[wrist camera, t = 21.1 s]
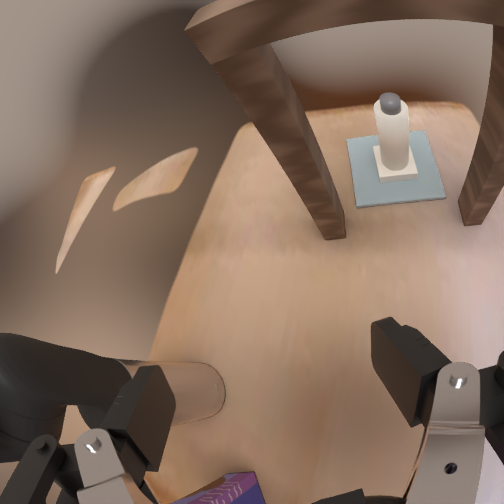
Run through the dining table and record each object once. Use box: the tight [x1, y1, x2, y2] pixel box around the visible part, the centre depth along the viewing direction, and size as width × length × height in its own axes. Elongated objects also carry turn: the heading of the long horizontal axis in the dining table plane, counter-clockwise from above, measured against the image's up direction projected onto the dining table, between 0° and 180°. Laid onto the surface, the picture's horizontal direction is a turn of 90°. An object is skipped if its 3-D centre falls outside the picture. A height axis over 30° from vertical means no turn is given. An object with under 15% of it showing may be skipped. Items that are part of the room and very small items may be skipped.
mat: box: [346, 130, 446, 208], centre depth 38 cm, size 14×13×1 cm
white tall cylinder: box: [373, 93, 418, 183], centre depth 32 cm, size 6×6×14 cm
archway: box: [184, 0, 504, 240], centre depth 21 cm, size 24×4×33 cm, turn 86°
